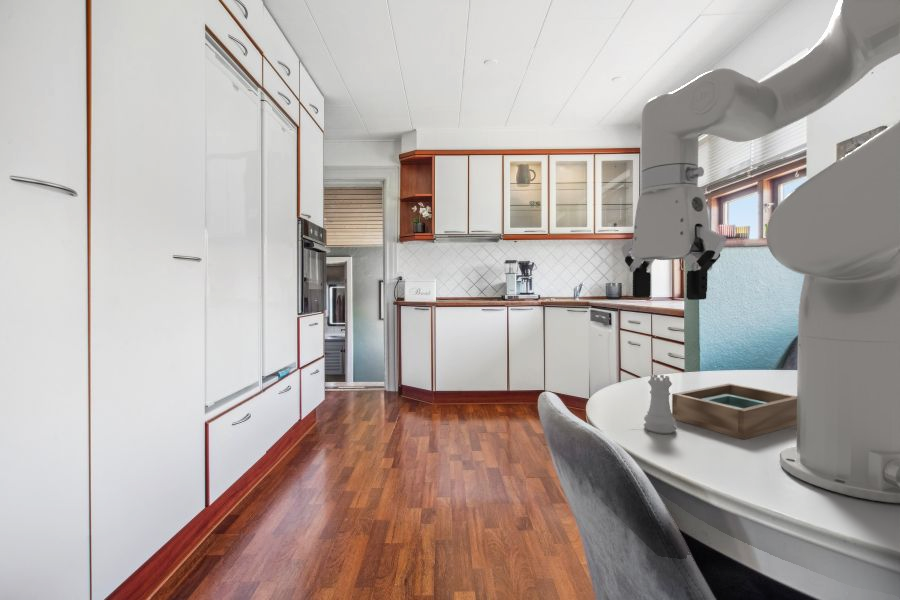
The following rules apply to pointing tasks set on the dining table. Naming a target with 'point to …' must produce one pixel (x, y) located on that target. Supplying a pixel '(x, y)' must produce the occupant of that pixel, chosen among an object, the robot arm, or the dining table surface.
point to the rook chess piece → (660, 407)
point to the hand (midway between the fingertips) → (667, 298)
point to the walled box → (735, 410)
